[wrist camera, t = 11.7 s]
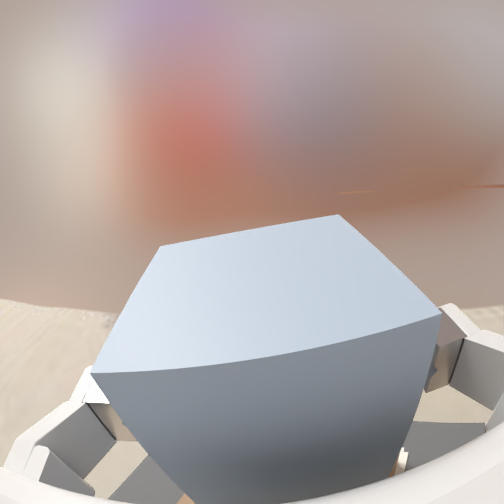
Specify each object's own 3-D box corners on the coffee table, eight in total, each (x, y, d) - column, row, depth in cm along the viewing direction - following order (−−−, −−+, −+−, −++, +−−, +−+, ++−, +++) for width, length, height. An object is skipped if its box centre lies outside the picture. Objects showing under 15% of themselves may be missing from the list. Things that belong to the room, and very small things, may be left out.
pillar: (235, 538, 7) (89, 372, 4) (234, 444, 12) (160, 246, 8) (366, 516, 7) (442, 313, 4) (340, 426, 12) (338, 214, 8)
